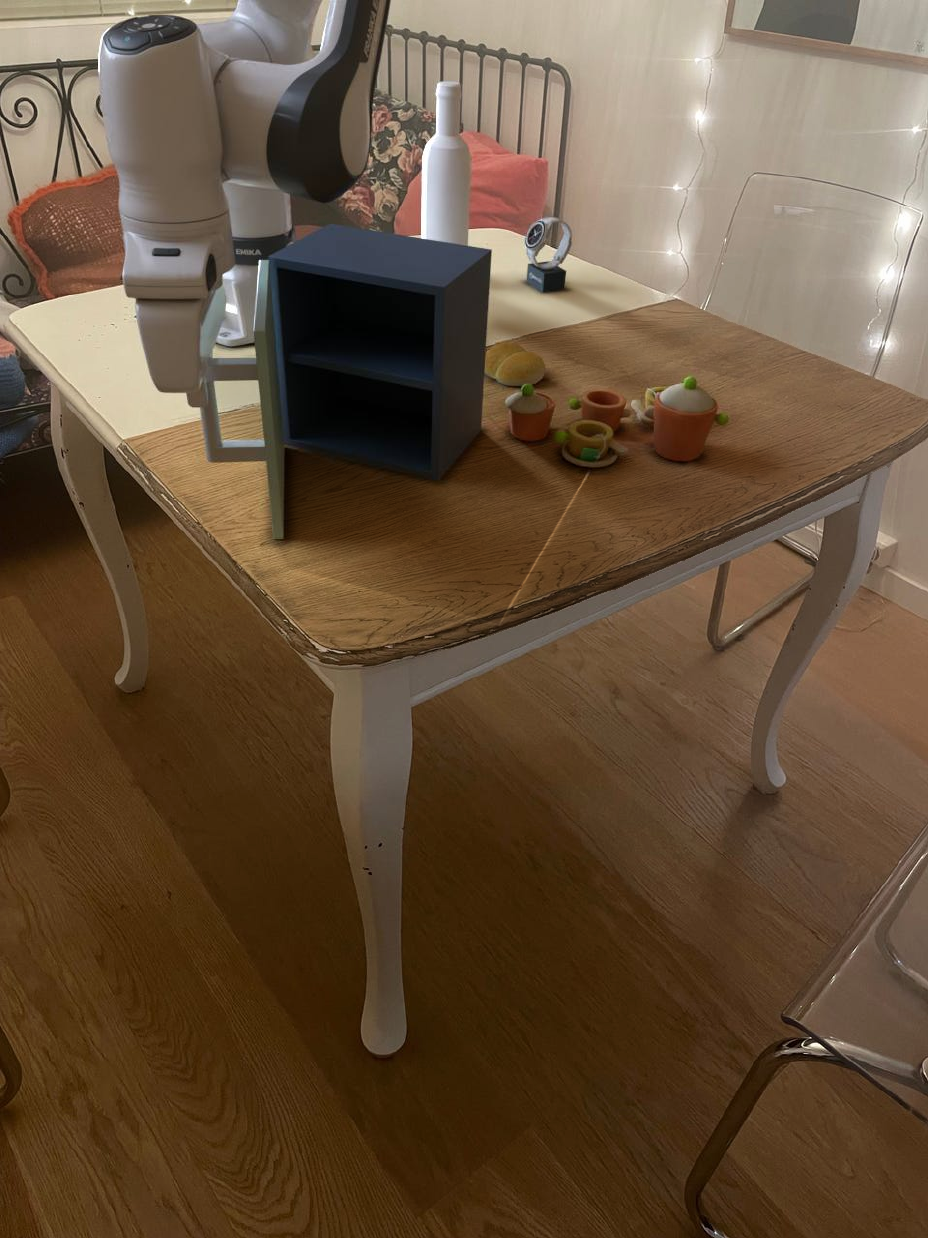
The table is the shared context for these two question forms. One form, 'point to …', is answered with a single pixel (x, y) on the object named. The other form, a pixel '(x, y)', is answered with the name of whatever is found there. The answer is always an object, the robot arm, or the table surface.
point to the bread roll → (513, 365)
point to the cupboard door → (270, 401)
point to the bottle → (446, 173)
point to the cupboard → (381, 346)
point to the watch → (549, 272)
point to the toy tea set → (670, 410)
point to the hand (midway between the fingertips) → (201, 397)
